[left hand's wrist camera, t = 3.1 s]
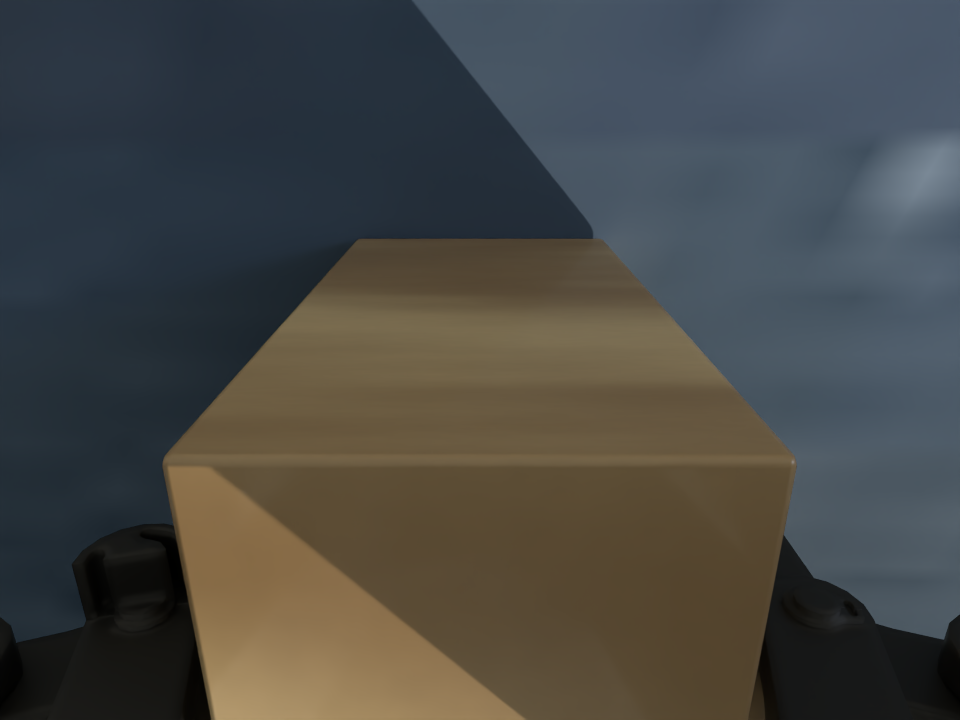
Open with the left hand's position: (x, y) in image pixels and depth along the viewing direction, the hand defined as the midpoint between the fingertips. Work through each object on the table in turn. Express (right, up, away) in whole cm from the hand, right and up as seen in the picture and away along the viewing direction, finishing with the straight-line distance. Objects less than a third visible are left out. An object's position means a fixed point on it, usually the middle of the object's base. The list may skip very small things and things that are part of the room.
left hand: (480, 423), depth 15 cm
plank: (0, -9, +4) cm, 10 cm away
